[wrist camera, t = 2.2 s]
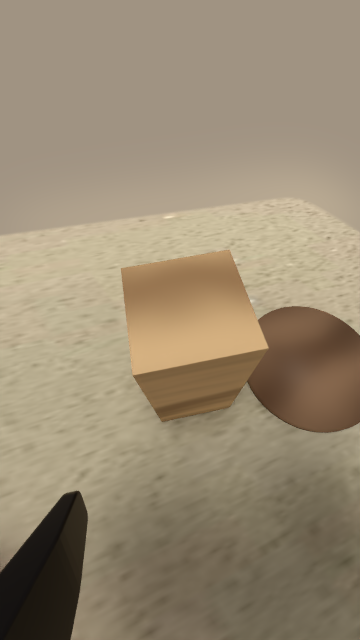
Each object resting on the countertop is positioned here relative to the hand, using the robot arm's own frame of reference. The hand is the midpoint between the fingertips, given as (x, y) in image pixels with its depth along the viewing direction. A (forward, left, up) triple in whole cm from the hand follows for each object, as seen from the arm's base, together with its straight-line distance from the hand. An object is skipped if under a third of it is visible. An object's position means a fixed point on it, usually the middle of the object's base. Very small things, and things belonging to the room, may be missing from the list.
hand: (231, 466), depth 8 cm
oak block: (+5, -4, -13) cm, 14 cm away
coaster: (-1, -12, -13) cm, 17 cm away
